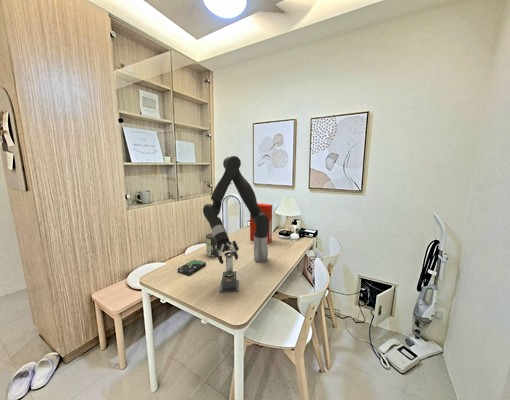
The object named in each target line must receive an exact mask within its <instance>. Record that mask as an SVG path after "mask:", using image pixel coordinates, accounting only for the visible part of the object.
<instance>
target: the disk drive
mask: <svg viewBox="0 0 510 400" xmlns="http://www.w3.org/2000/svg"><path fill="white" fill-rule="evenodd" d="M206 266H207V263H206V262H205V261H202V260H197V259H192V260H190V261H189V262H187V263H185V264H184V265H181V266H179V267H178V268H177V273H180V274H183V275H186V276H188V277H191V276H192V275H193V274H195V273H197V272H198V271H200V270H201V269H203V268H205V267H206Z"/></svg>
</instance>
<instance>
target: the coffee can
mask: <svg viewBox="0 0 510 400" xmlns="http://www.w3.org/2000/svg"><path fill="white" fill-rule="evenodd" d="M205 241H206V242H205V243H206V244H205V245H206V250H205V251H206V256H208V257H214V256H213V252H212V246H213V245H214V246H217V245H216V242H215V239H214V237H213V234H212V232H210V233H207V234H206V235H205ZM216 252H217V254H218V253H219V249H217V248H216Z"/></svg>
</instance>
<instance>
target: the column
mask: <svg viewBox="0 0 510 400" xmlns="http://www.w3.org/2000/svg"><path fill="white" fill-rule="evenodd" d="M224 257H225V272H226V277H233V270H234V267H233V263H234V262H233V259H234V258H233V257H234V253H233V252H230V251H225V252H224Z"/></svg>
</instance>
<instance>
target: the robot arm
mask: <svg viewBox="0 0 510 400" xmlns="http://www.w3.org/2000/svg"><path fill="white" fill-rule="evenodd" d="M241 162H242V161H241V159H240V158H239V157H238V156H236V155H231V156H226V158H224V159H223V164H222V165H223V168H224V173H223V175H221V178H220V180H219V181H218V183H217V184H216V186H215V188H214V189H213V192H212V193H211V196H210V199H211V200H212V203H206V204H204V205H203V208H202V214H203V215H204V217H205V219H206V221H207V222H208V223H209V226H210V229H211V233H212V234H213V237H214V239H215V242H216V245H217V246H214V245H213V246H212V252H213V256H212V257H213V258H217V259H218V261H219V263H220V265H223V264H224V259H223V257H222V253H226V252H233V253H234V256H233V257H234V260H236V261H238V259H239V254H238V251H240V248H239V246H238V244H237V242H236V240H232V241H230V239H229V236H228V233H227V231H226V228H225V226H224V224H223V221H222V219H221V217H219V215H220V213H221V208H222V203H223V200H224V198H225V195H226V193H227V192H228V191H227V190H228V188H229V186H230V185H231V183H232V182H233V184H234V187H235V188H236V190H237V193H238V194H239V196H240V198H241V200H242V201H243V203H244V205H245V207H246V208H247V210H248V212H249V215H250V214H251V217H252V219H253V222H254V223H255V224H256V231H255V232H254V241H253V261H255V262H257V263H265V262H268V258H269V257H268V253H269V249H268V248H269V247H268V243H267V236H268V232H269V218H268V216H267V215H265V214H264V213H262V211H261V210H260V208H259V206H258V204H257V203H258V201H257V196H256V194H255V191H254V189H253V187H252V185H251V184H250V183H249V181H248V180H247V179H246V178H245V177H244V175H242V173H241V170H240V168H241V164H242V163H241ZM216 248H217V249H219V253H218V254H217V252H216Z"/></svg>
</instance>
